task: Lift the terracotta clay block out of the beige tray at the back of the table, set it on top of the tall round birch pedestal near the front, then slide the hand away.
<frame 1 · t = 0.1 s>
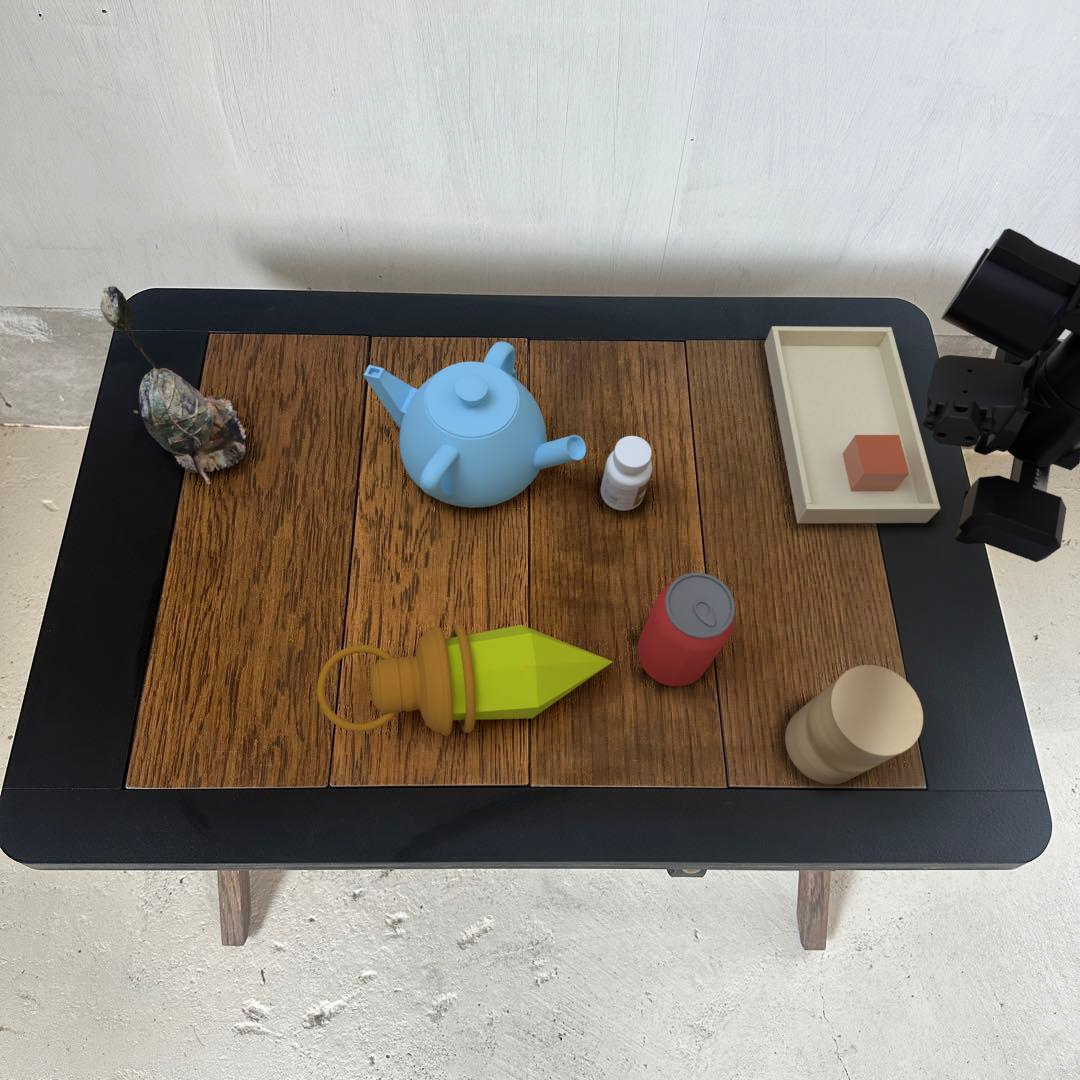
hand: (970, 494, 70), 14 cm above the table, tool pointing down, fingers open, 9 cm apart
beige tray: (841, 428, 89), on the table
plumb bob: (472, 692, 75), on the table
clay block: (867, 472, 86), resting on beige tray
pill bottle: (621, 493, 85), on the table
beer can: (671, 654, 78), on the table
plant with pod: (207, 447, 85), on the table
teapot: (476, 456, 86), on the table
pedestal: (891, 699, 62), on the table
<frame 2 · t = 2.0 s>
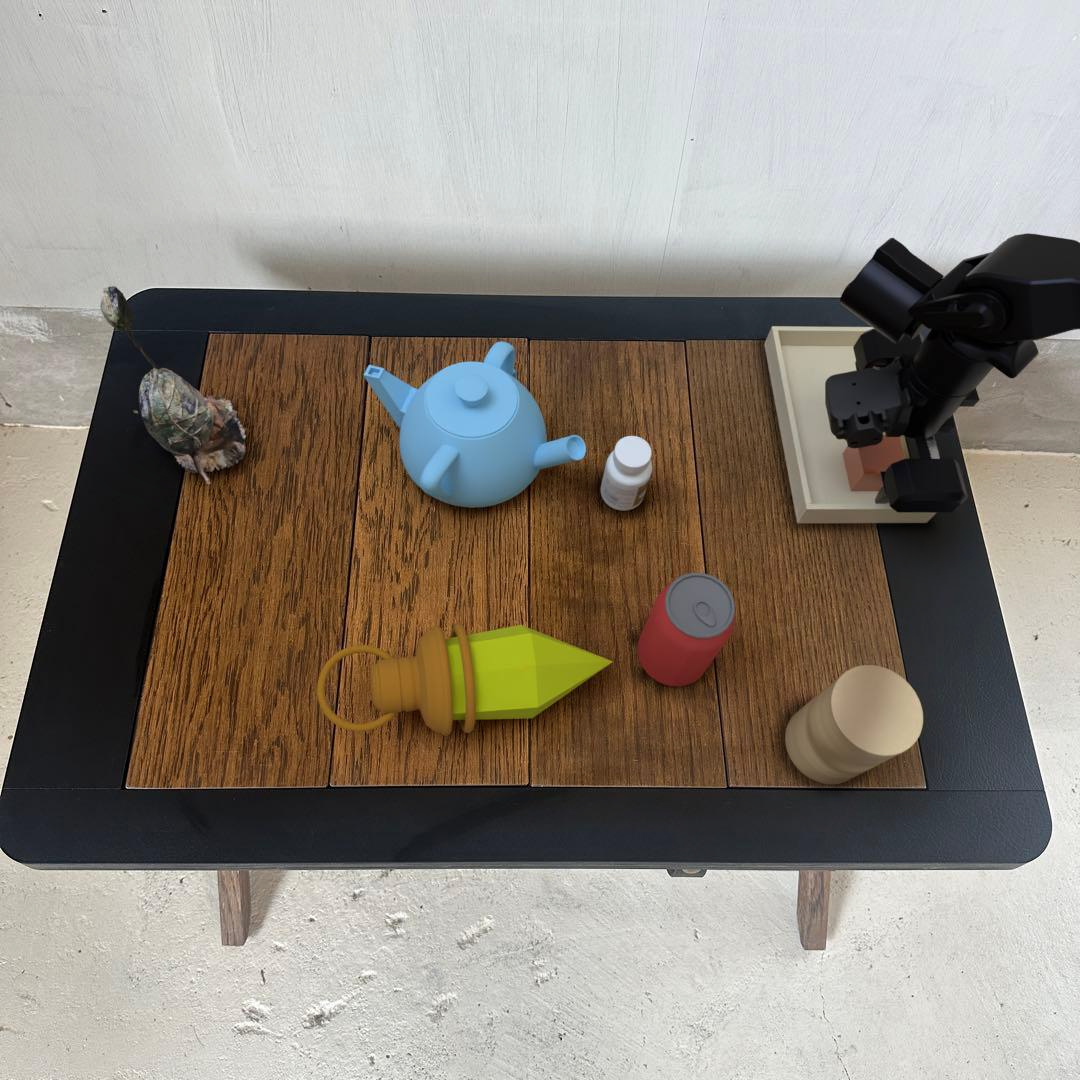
hand: (870, 464, 86), 2 cm above the table, tool pointing down, fingers open, 8 cm apart
nothing on the table moved.
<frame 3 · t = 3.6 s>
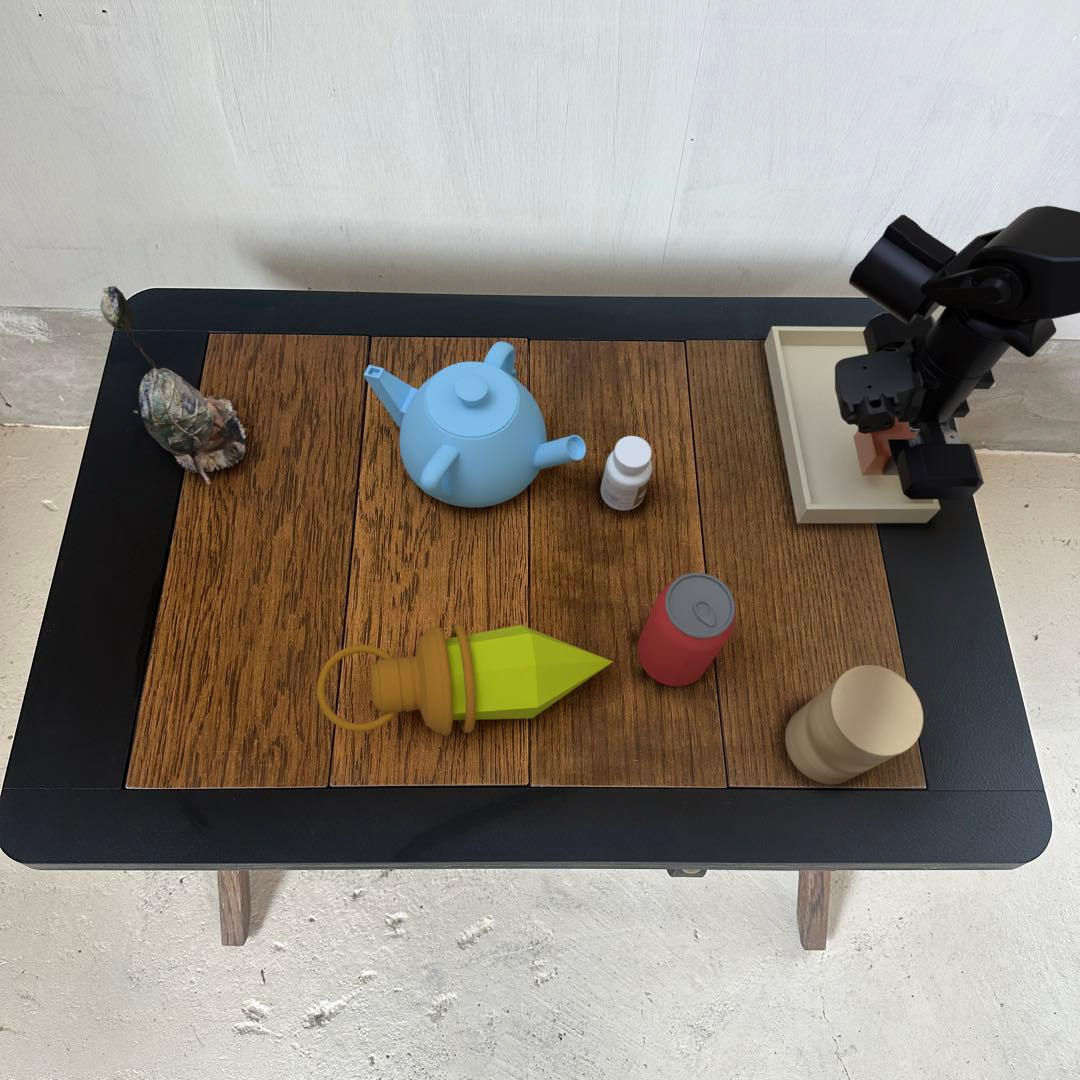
hand: (882, 452, 83), 4 cm above the table, tool pointing down, fingers closed on clay block, 4 cm apart
clay block: (879, 455, 84), point 4 cm above the table, touching gripper
everything else where it was.
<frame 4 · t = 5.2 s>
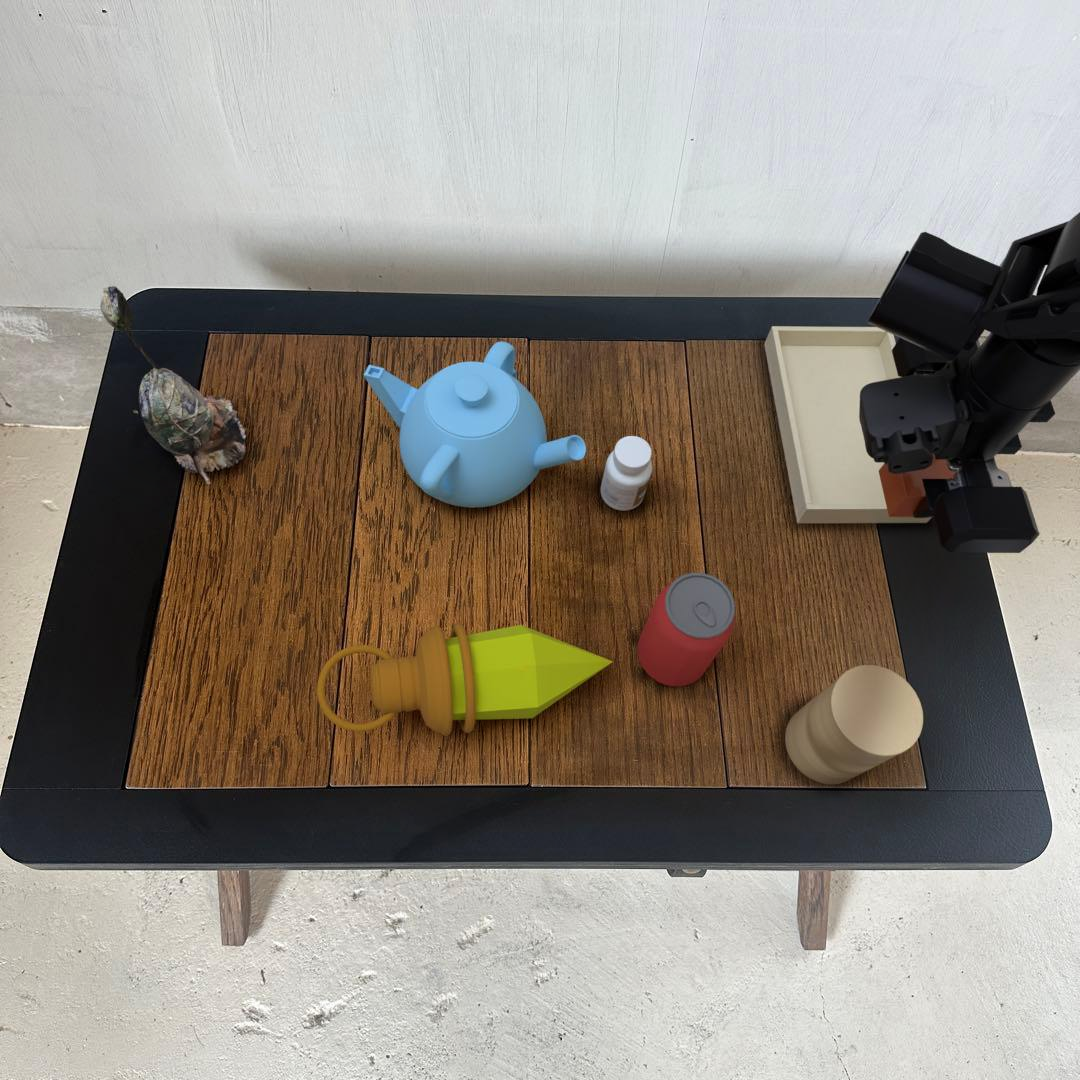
hand: (912, 490, 71), 13 cm above the table, tool pointing down, fingers closed on clay block, 4 cm apart
clay block: (909, 493, 72), point 12 cm above the table, touching gripper
everything else where it was.
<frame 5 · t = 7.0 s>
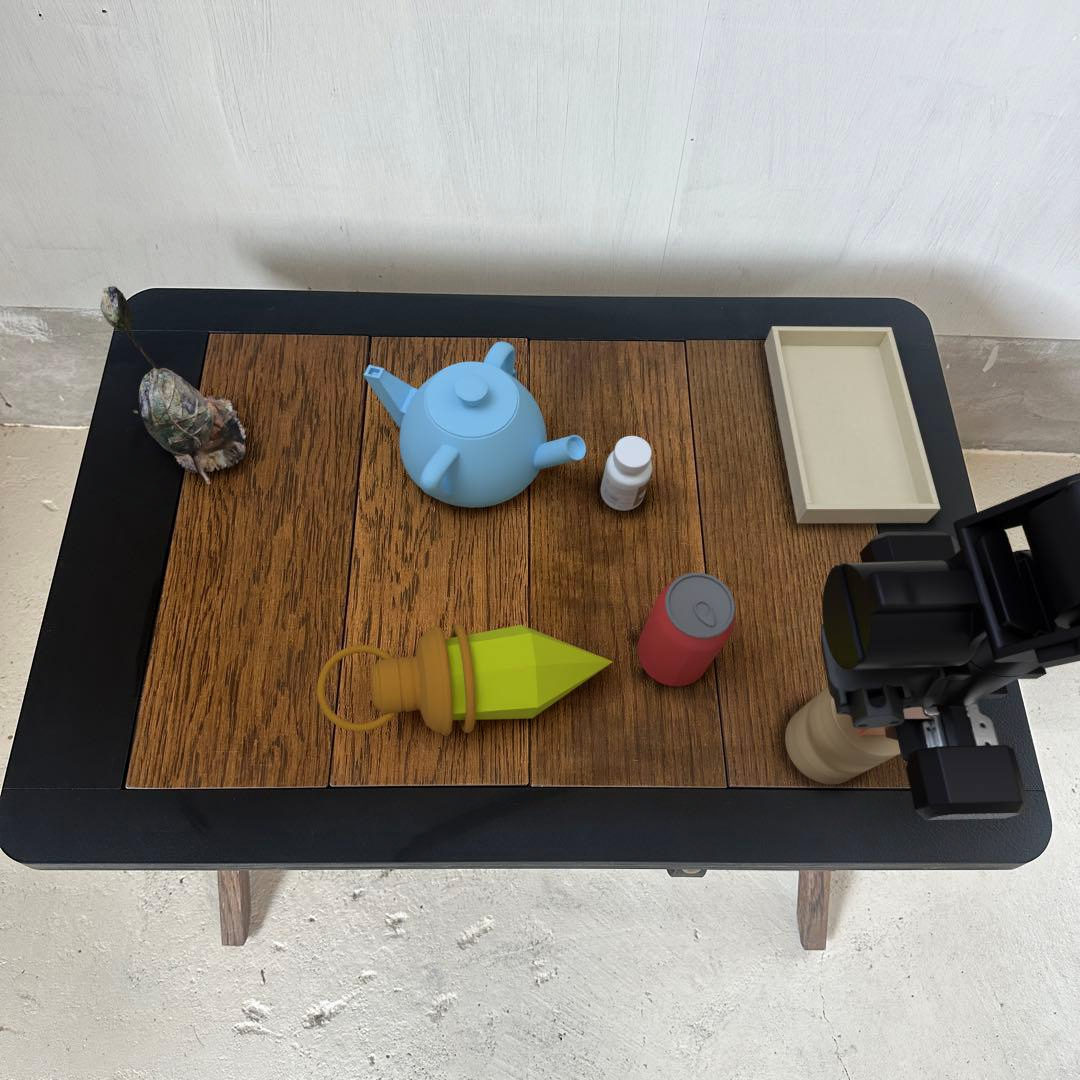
hand: (885, 702, 63), 13 cm above the table, tool pointing down, fingers closed on clay block, 4 cm apart
clay block: (881, 704, 63), point 12 cm above the table, touching gripper
everything else where it was.
when the fingers open (12 cm above the table, at t = 7.9 s): clay block stays where it is, resting on pedestal.
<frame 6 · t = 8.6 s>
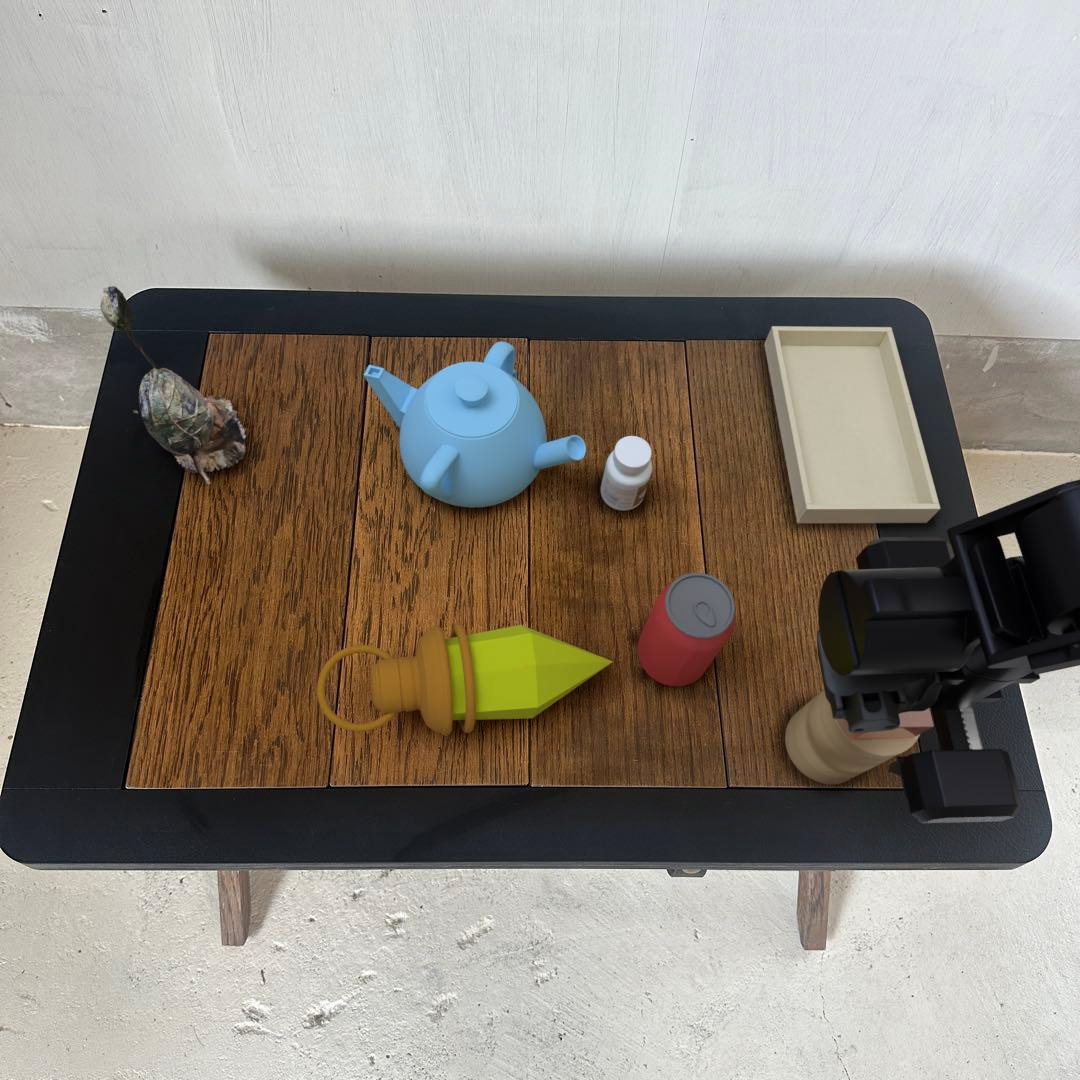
hand: (881, 706, 63), 12 cm above the table, tool pointing down, fingers open, 9 cm apart
clay block: (877, 709, 64), point 12 cm above the table, touching pedestal
everything else where it was.
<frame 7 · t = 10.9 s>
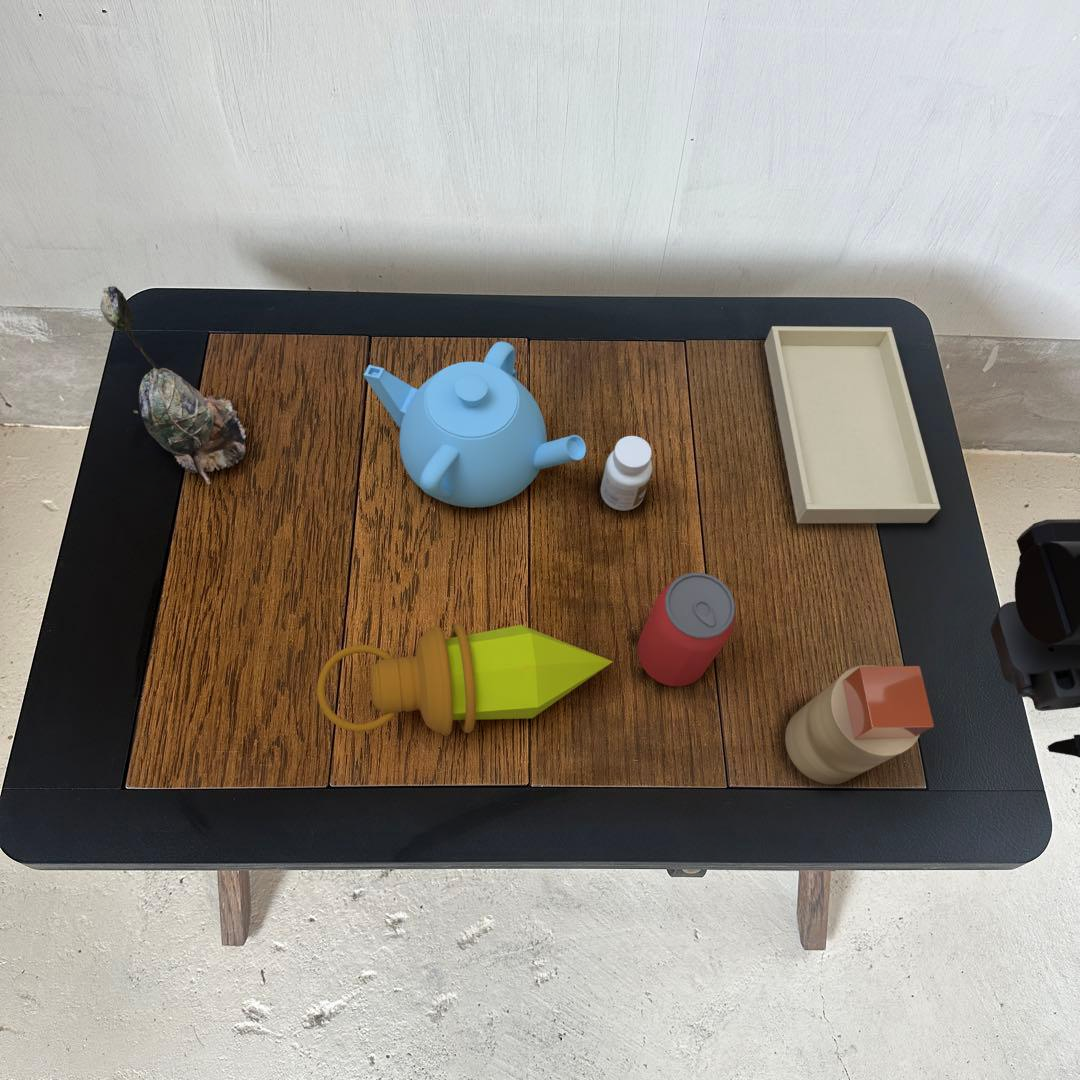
hand: (1035, 687, 64), 13 cm above the table, tool pointing down, fingers open, 9 cm apart
nothing on the table moved.
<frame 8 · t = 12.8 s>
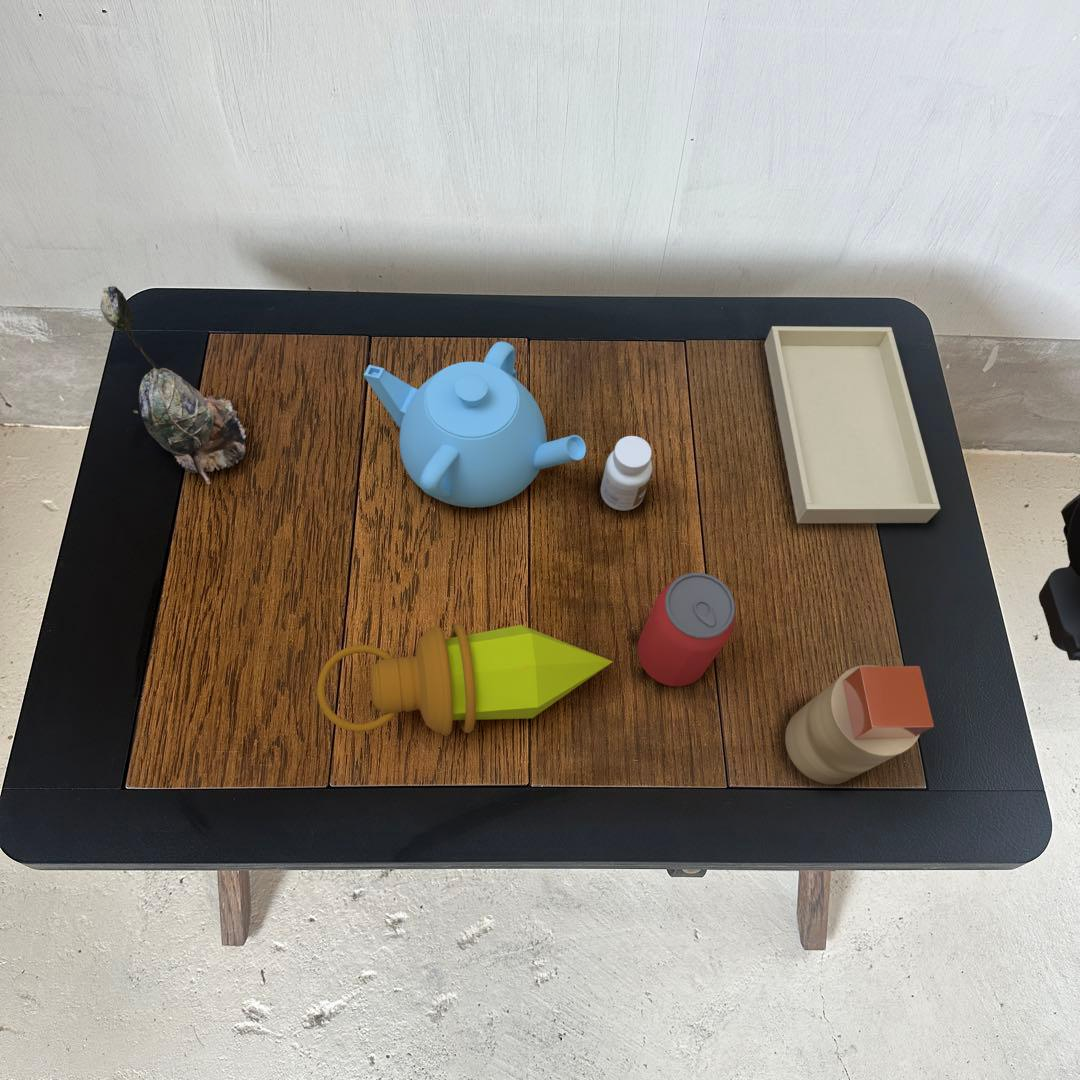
hand: (1076, 657, 65), 13 cm above the table, tool pointing down, fingers open, 9 cm apart
nothing on the table moved.
at the end: clay block 0.0 cm off-centre under the pedestal, point -2.5 cm above the pedestal's base; clay block touching pedestal; clay block tilted 0° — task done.
